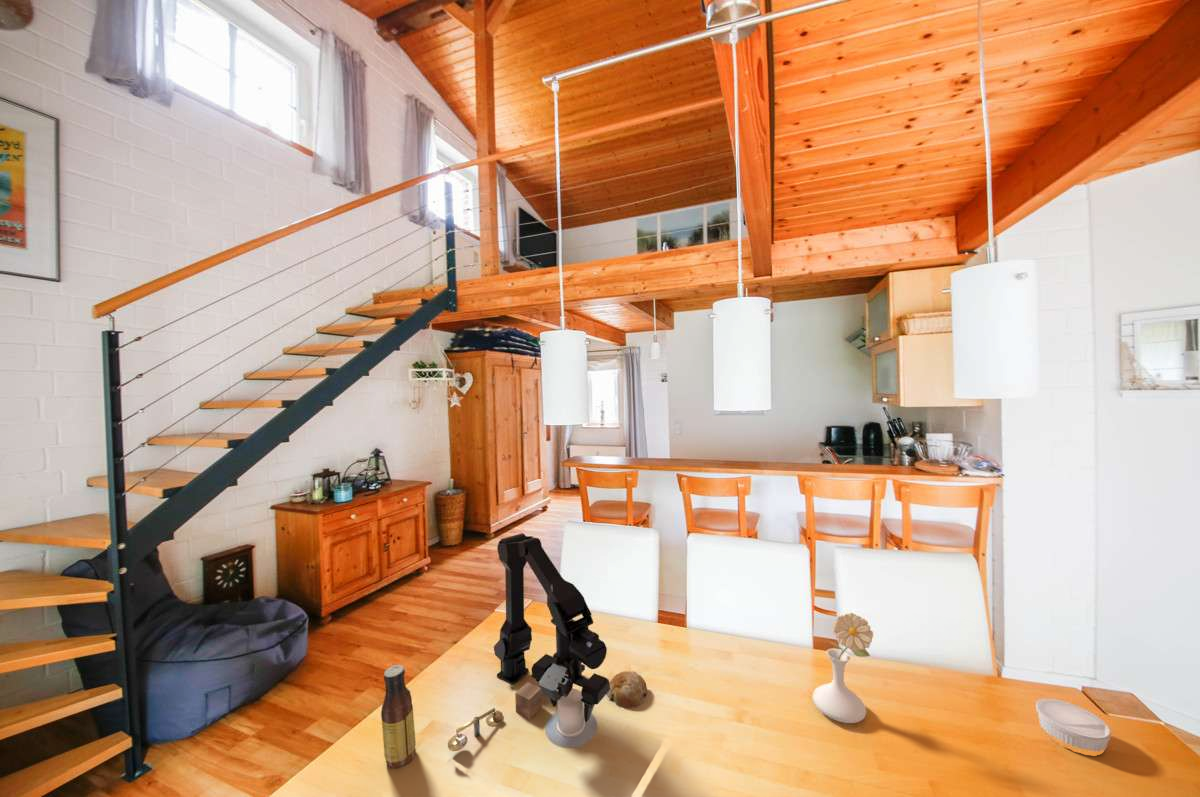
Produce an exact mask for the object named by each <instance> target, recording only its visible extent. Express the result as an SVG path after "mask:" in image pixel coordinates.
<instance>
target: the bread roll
mask: <svg viewBox="0 0 1200 797" xmlns="http://www.w3.org/2000/svg"><path fill="white" fill-rule="evenodd" d="M609 682H610V690H609V691H608V693H607V694H606V696H607V698H611V701H612V702H614V703H615V706H618V707H620V708H624V709H628V708H629V709H630V708H634V707H639V706H641V704H643V703H644V698H646V697H647V693H648V687H647V683H646V681H645V679H644V678H643V677H642V676H641V675H640V674H638V672H636V671H634V670H633V671H631V670H630V671H629V670H625V671H621V672H619V673H617V674H615V675H614V676H613V677H612V679H611V680H609Z"/></svg>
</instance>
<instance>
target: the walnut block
mask: <svg viewBox="0 0 1200 797" xmlns="http://www.w3.org/2000/svg"><path fill="white" fill-rule="evenodd" d="M542 695H543V694H542V691H541V688H540V686H537V685H536V684H533V683H531V682H528V681H527V682H526V683H524V685H523V686H521V688H519V689H518V690H516V691H515V695H514V696H515V713H517V714H519V715H521V716H523V717H524V718H527V719H528V720H531V719H532V718H533V717H534V716H535V715H536V714H537V713H538V712H539V711H540V710H541V709H542V708H543V696H542Z"/></svg>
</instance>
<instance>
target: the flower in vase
mask: <svg viewBox="0 0 1200 797" xmlns="http://www.w3.org/2000/svg"><path fill="white" fill-rule="evenodd" d="M834 622H835V623H833V625H834V626H833V629H832V632H833V633H834V636H835V638H837V642H838V643H839V644H840V645H841V646H844V649H843V648H841V646H839V645H838V644H836V643H835V642H832V641H831V640H829V639H828V638H826V640H827V641H828V642H829V643H830V644H831V645H833V646H834V647H835V648H829V649H827V650H826V655H827V657H828V658H829V660H830V662H831V665H832V674H833V675H832V681H831V682H829V683H824V684H821V685H819V686H818V687H816V688H815V689H814V691H813V693H812V696H811V698H812V701H813V703H814V705H815V707H816V708H817V709H818V710H819V711H820V712H821V713H822V714H823V715H825V716H826V717H828V718H830V719H831V720H835V721H837V722H841V723H844V724H856V723H860V722H862V720H864V718H865V717H867V716H866V715H867V708H866V707H865V703H864V702H863V700H862V699H861V698H859V696H858V695H857V694H856V693H855V692H854V691H852V690H851V689H849V688H848V687H847V686H846V684H845V676H844V675H845V667H846V664H847V663H848V662H849V661H850V660H851V656H850V655H849V653H848V652H846V651H847V650H848V649H849V650H850V651H851V652H852V653H853V654H854V656H857V657H861V658H863V657H864V658H865V657H870V656H871V654H870V653H869V652H868V651H867V649H869V648H870V646H871V644H872V641H873V638H874V631H873V630H871V626H870V625H869V622H868V620H866V619H865V618H864V617H862V616H860V615H858V614H857V615H856V614H855V613H853V612H849V613H843V614H841V615H838V616H837V618H836V621H834Z"/></svg>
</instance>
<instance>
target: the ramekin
mask: <svg viewBox="0 0 1200 797" xmlns="http://www.w3.org/2000/svg"><path fill="white" fill-rule="evenodd" d="M1035 710H1036V712H1037V715H1038V721H1039V726H1040V725H1041V726H1040V728H1041V727H1042V728H1043V729H1044V730H1045V731H1046V732H1047V733H1048V734H1050V735H1052V736H1054V737H1055V738H1057V739H1058V740H1060V741H1062V742H1065V743H1067V744H1070V745H1071V746H1075V747H1078V748H1081V749H1086V750H1092V751H1101V750H1104V749H1105V748H1106V749H1107V746H1108V743H1109V741H1110V740H1111V738H1112V734H1111V733H1112V732H1111V729H1110V727H1109V726H1108V724H1107V723H1106V722H1105V721H1104V720H1103V719H1101V718H1100V717H1098V716H1097V715H1095V714H1094V713H1092V712H1090V711H1089V710H1087V709H1085V708H1083V707H1081V706H1078V705H1076V704H1073V703H1071V702H1067V701H1065V700H1060V699H1055V698H1040V699H1038V700H1036V703H1035Z"/></svg>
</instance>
